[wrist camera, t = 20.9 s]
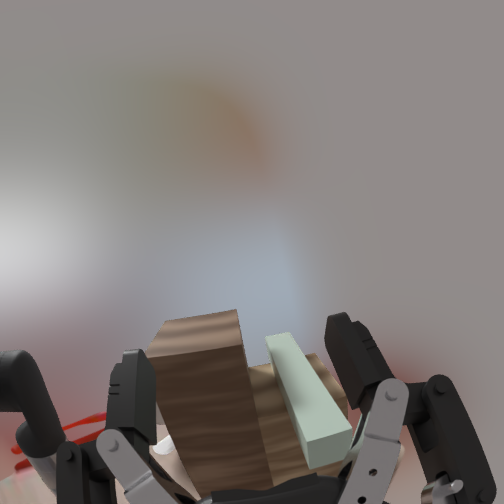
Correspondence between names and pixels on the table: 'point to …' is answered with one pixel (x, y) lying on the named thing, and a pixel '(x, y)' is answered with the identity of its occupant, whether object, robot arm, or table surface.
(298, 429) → the pale green bar
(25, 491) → the table surface
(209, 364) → the stand
